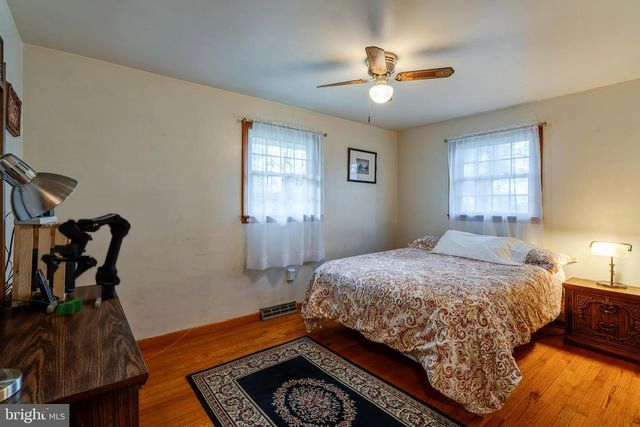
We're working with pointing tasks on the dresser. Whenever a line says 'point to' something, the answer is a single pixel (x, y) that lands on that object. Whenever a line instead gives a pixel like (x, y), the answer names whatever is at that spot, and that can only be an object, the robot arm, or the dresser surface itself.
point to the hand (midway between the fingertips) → (59, 280)
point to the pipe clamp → (70, 307)
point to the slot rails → (54, 304)
